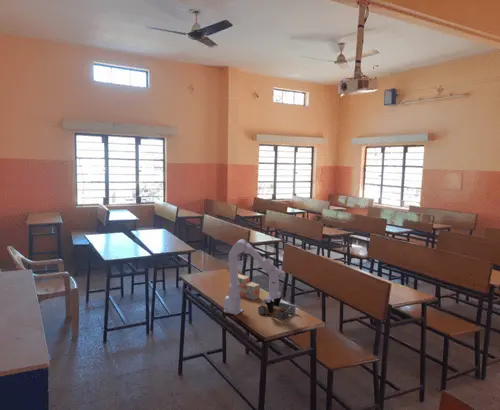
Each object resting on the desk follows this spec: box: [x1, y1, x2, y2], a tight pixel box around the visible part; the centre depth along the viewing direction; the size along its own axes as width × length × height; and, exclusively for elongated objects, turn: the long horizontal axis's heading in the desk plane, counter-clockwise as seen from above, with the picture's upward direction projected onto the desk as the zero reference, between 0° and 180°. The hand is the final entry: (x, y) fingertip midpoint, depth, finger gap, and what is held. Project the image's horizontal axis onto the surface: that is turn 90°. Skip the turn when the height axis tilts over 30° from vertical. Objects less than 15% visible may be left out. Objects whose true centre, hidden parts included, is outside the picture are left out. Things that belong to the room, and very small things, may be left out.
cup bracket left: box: [257, 302, 266, 316], centre depth 232 cm, size 4×7×4 cm, turn 150°
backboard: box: [263, 298, 297, 315], centre depth 234 cm, size 21×5×5 cm, turn 60°
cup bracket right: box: [277, 308, 290, 320], centre depth 225 cm, size 4×7×4 cm, turn 150°
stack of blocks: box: [238, 273, 261, 301], centre depth 260 cm, size 21×6×12 cm, turn 46°
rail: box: [261, 303, 286, 317], centre depth 228 cm, size 14×4×5 cm, turn 60°
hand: (273, 310), depth 228 cm, fingers open, 7 cm apart
